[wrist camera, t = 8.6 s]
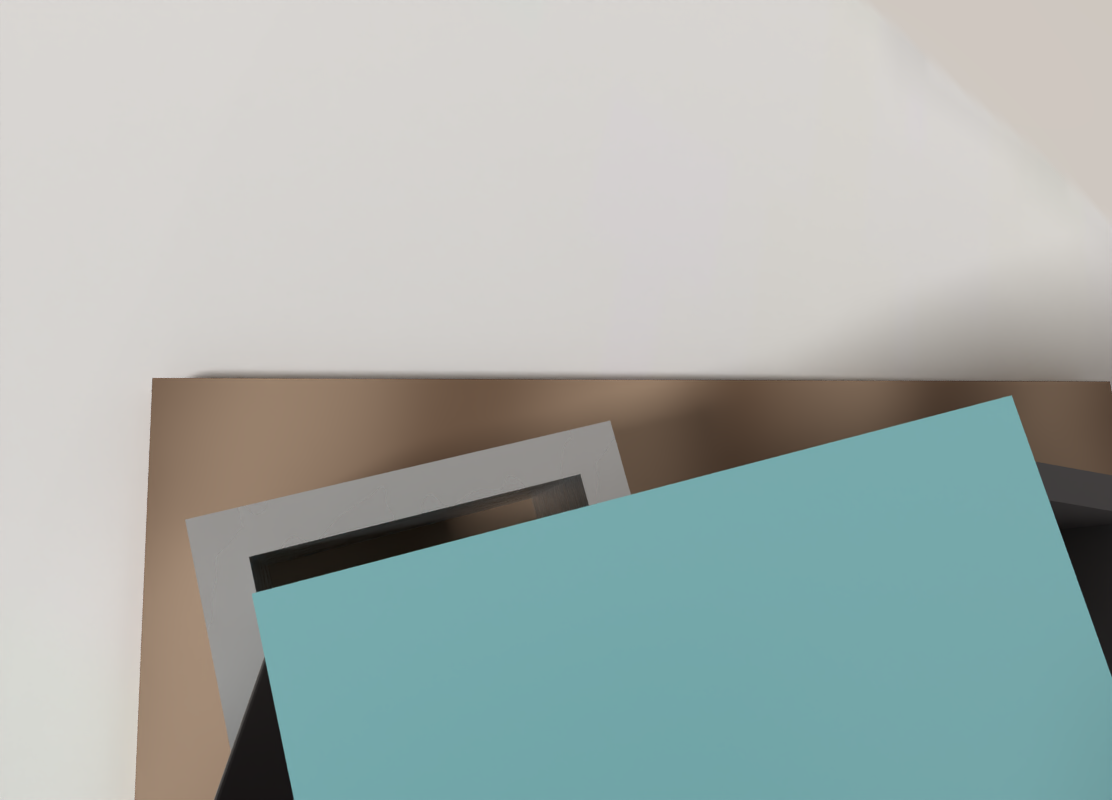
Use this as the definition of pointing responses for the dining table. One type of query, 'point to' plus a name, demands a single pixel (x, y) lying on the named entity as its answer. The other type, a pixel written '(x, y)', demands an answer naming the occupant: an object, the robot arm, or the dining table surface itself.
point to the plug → (719, 641)
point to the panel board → (461, 428)
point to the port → (376, 528)
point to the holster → (1086, 538)
